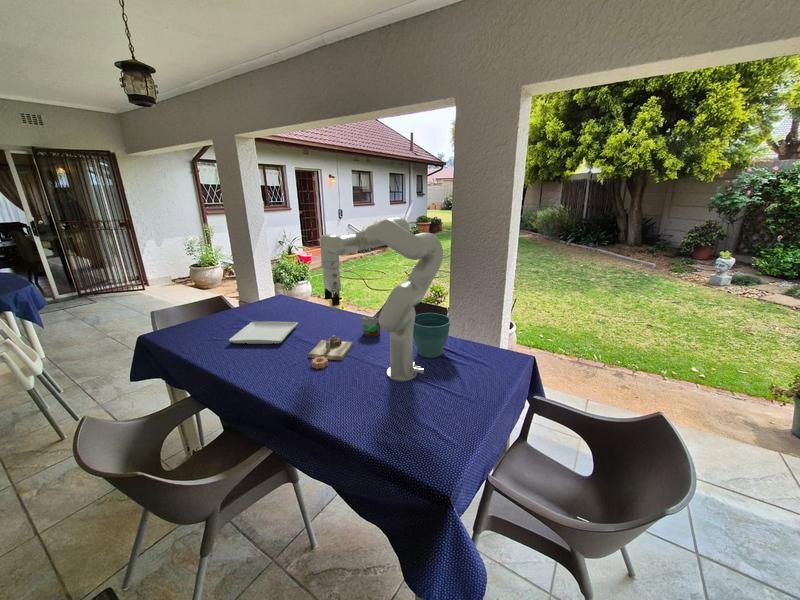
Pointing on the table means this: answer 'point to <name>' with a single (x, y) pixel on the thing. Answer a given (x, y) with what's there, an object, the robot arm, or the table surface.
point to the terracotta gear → (319, 362)
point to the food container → (370, 326)
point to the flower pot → (431, 333)
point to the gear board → (331, 349)
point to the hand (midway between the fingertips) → (332, 302)
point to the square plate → (264, 332)
